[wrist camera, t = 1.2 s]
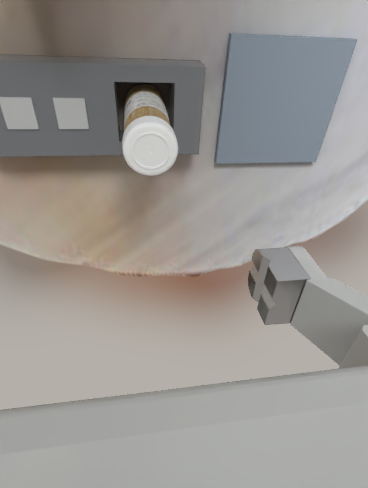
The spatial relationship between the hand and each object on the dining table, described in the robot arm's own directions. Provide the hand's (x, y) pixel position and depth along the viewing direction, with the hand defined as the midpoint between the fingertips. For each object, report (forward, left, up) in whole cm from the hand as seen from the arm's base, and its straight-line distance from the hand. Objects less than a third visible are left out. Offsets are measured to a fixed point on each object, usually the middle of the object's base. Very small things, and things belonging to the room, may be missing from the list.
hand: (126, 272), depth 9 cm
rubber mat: (+3, +18, -30) cm, 35 cm away
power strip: (+3, -4, -30) cm, 31 cm away
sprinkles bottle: (+3, +2, -31) cm, 31 cm away
